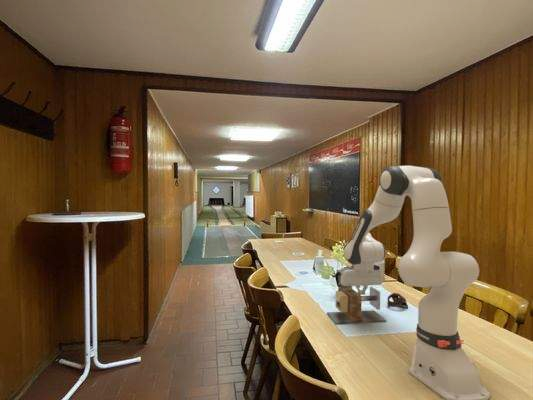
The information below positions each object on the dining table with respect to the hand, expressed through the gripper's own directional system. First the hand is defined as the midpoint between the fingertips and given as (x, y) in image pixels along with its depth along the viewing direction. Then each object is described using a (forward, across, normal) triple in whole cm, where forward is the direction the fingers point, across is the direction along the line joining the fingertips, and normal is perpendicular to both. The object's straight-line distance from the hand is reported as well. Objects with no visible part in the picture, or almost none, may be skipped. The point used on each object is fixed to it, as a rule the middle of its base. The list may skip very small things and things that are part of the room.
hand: (361, 294), depth 146 cm
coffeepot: (+10, +1, +24) cm, 26 cm away
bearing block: (+10, -4, -3) cm, 11 cm away
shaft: (+5, -4, -3) cm, 7 cm away
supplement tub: (+10, +37, +59) cm, 71 cm away
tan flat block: (+2, -11, -3) cm, 11 cm away
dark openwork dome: (+10, +23, +8) cm, 27 cm away
